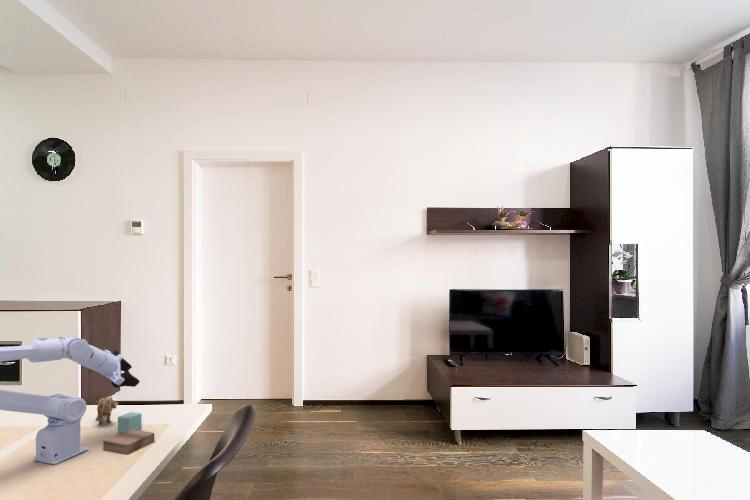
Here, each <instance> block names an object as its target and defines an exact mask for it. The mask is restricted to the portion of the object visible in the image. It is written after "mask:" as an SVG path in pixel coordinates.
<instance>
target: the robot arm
mask: <svg viewBox="0 0 750 500" xmlns="http://www.w3.org/2000/svg"><path fill="white" fill-rule="evenodd" d="M47 338H48V337H45V336H41V337H40V336H39V337H38V339H33V340H32V341H30V342H29V343H27V345H17V346H16V345H14V346H0V363H2V362H9V361H16V360H17V361H18V360H23V359H24V360H25V359H27V361H29V362H31V363H34V364H35V363H44V362H52V361H60V360H63V359H67V360H70V361H73V362H75V363H76V364H78V365H80V366H82V367H85V368H87V369H88V370H89V369H90V370H92V371H95V372H97V373H99V374H101V375H102V376H103V377H105V378H107V379H109V380H111V381H112V382H111V384H112V386H113V388H116V389H117V388H120V387H121V388H122V387H134V388H135V387H136V386H137V385H139V384H140V382H141V381H140V380H139V378H137V377H135V376H134V375H133V374H131V373H130V370H131V369H132V367H133V366H132V365H131V364H130V362H128V361H127V360H125V359H124V357H123V356H122V354H121V353H120V352H119V351H118V350H115V351H113V352H111V351H110V350H107V349H104V350H103V349H101V348H98V347H96V346H93V345H91V344H89V342H88V341H87V340H86V339H85V338H80V337H70V336H58V338H48V339H47ZM121 371H122V372H121ZM0 411H7V412H17V413H24V414H25V413H26V414H34V415H43V416H45V417H46V418H47V425H46V426H45V427H43V428H41V429H39V430H38V431H37V433H36V436H35V457H34V458H33V461H35V462H36V461H37V462H41V463H46V464H49V465H50V464H51V465H56V464H59V463H61V462H64V461H66V460H68V459H71V458H73V457H75V456H77V455H80V454H82V453H84V452H86V451H88V450H89V447H83V446H81V421H82V418H83V416H84V415H85V413H86V411H87V403H86V401H85V399H83V398H81V397H78V396H77V397H76V396H75V397H73V396H68V395H63V394H61V393H54V394H51V395H41V394H40V395H39V394H33V393H26V392H20V391H14V390H6V389H0Z"/></svg>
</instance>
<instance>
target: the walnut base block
mask: <svg viewBox="0 0 750 500" xmlns="http://www.w3.org/2000/svg"><path fill="white" fill-rule="evenodd" d="M154 442H155V432H151V431H146V430H134V429H130V430H127V431H125V432H123V433H120V434H119V433H117V434H116V435H113V436H111V437H109V438H107V439H105V440H102V446H103V447H102V450H103V451H107V452H112V453H113V452H114V453H117V454H118V453H119V454H124V455H129V454H131V453H134V452H136V451H138V450H140V449H142V448H144V447H147V446H148V445H150V444H152V443H154Z"/></svg>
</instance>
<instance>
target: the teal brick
mask: <svg viewBox="0 0 750 500" xmlns="http://www.w3.org/2000/svg"><path fill="white" fill-rule="evenodd" d="M130 429H134V430H141V431H143V430H142V412H141V413H139V412H133V411H129V412H127V413H124V414H122V415H120V416H117V434H120V433H123V432H125V431H127V430H130Z"/></svg>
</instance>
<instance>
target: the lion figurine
mask: <svg viewBox="0 0 750 500" xmlns="http://www.w3.org/2000/svg"><path fill="white" fill-rule="evenodd" d="M118 405H119V402H117V401H115V400H114V399H113V397H112V396H106V397H102V398H100V399H98V402H97V409H96V410H97V416H96V418H95V421H98V423H97V426H99V427H100V426H103V424H104V423H103V419H102V418H103V417H106V421H105V422H106V423H107V424H111V423H112V422H113V421H112V420H111V415H112V412H113V410H114V409H117V406H118Z"/></svg>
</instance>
